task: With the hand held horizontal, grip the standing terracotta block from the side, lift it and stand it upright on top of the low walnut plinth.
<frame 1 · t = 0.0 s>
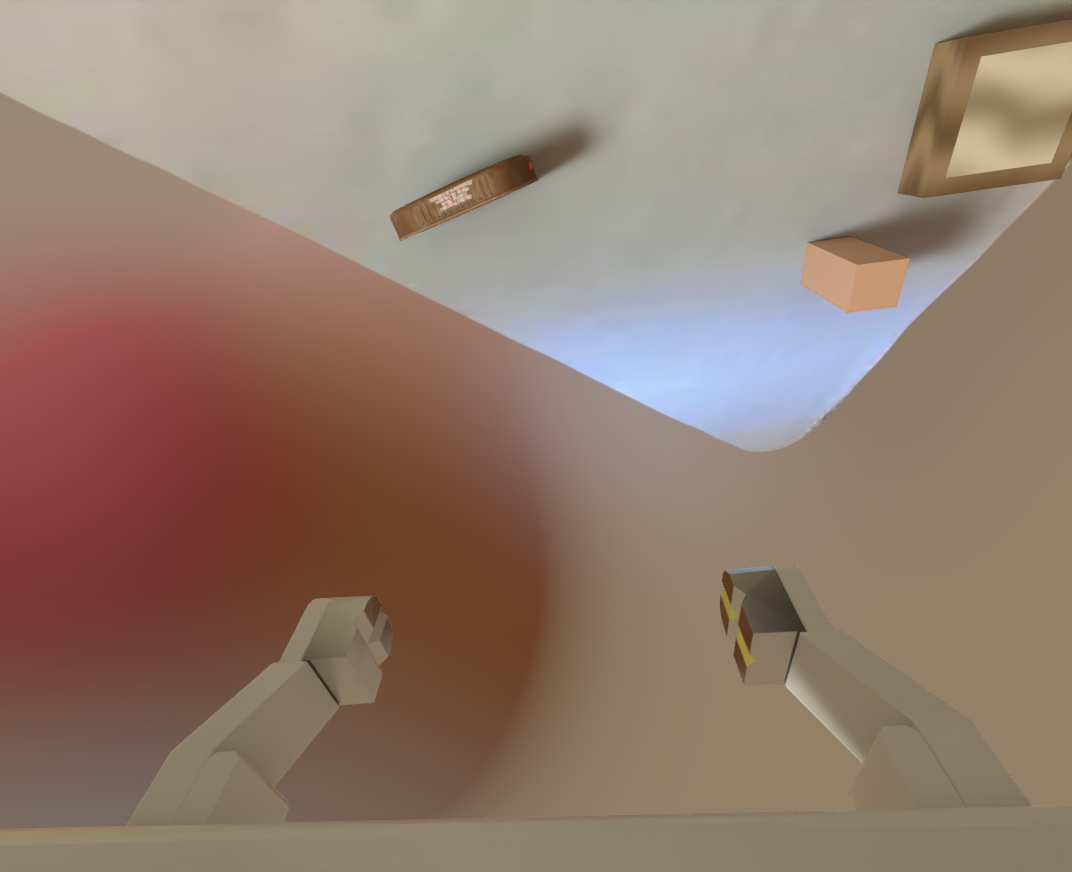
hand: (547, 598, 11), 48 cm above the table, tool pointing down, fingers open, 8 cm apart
terracotta block: (825, 260, 52), on the table
plinth: (982, 113, 45), on the table
tin: (468, 192, 50), on the table
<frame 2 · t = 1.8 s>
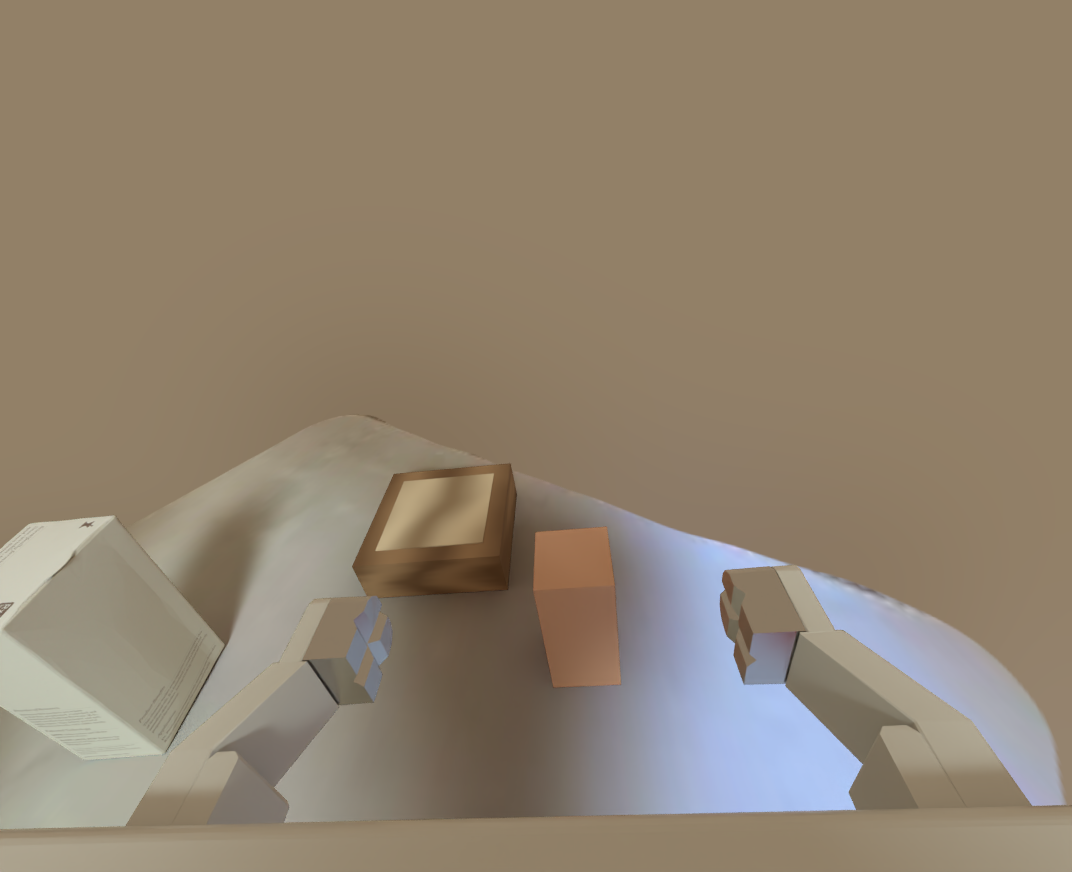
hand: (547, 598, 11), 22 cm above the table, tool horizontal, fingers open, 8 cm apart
terracotta block: (584, 654, 33), on the table
skincare box: (164, 703, 35), on the table
plinth: (449, 541, 44), on the table
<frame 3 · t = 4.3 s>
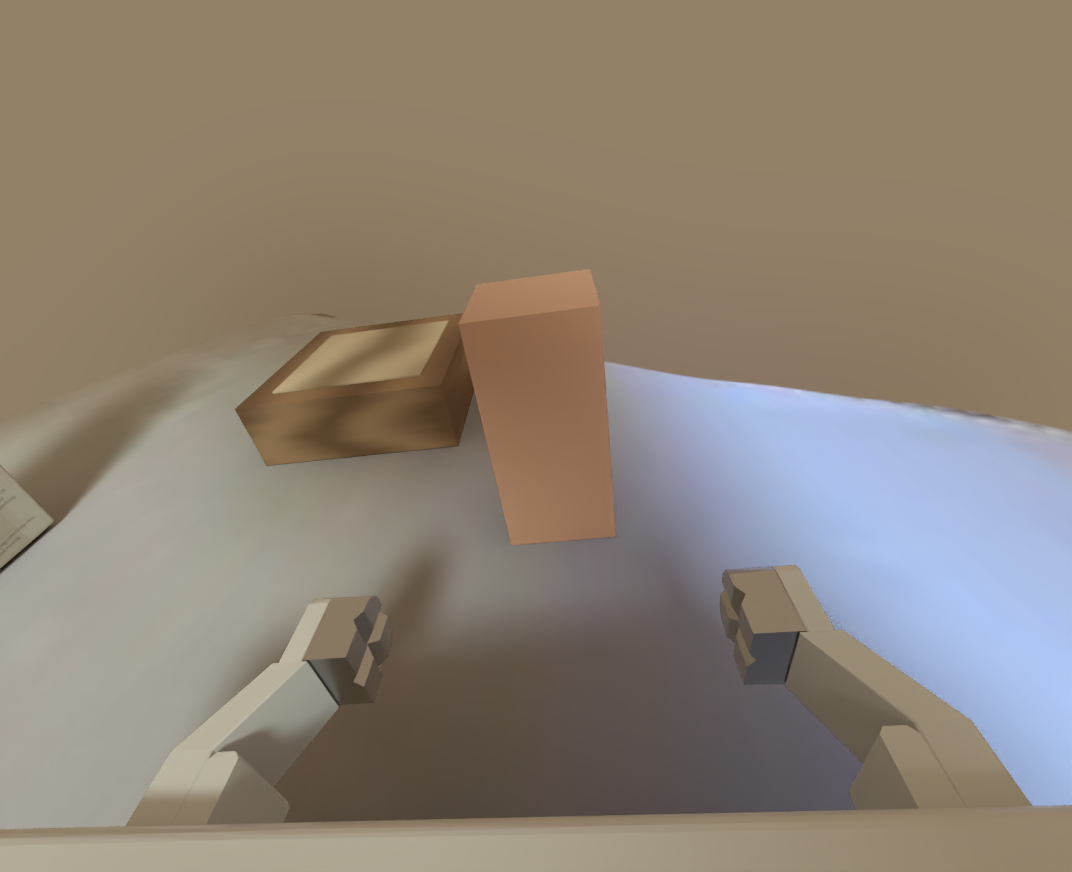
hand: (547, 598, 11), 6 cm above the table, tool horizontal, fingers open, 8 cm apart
terracotta block: (561, 505, 22), on the table
plinth: (388, 406, 33), on the table
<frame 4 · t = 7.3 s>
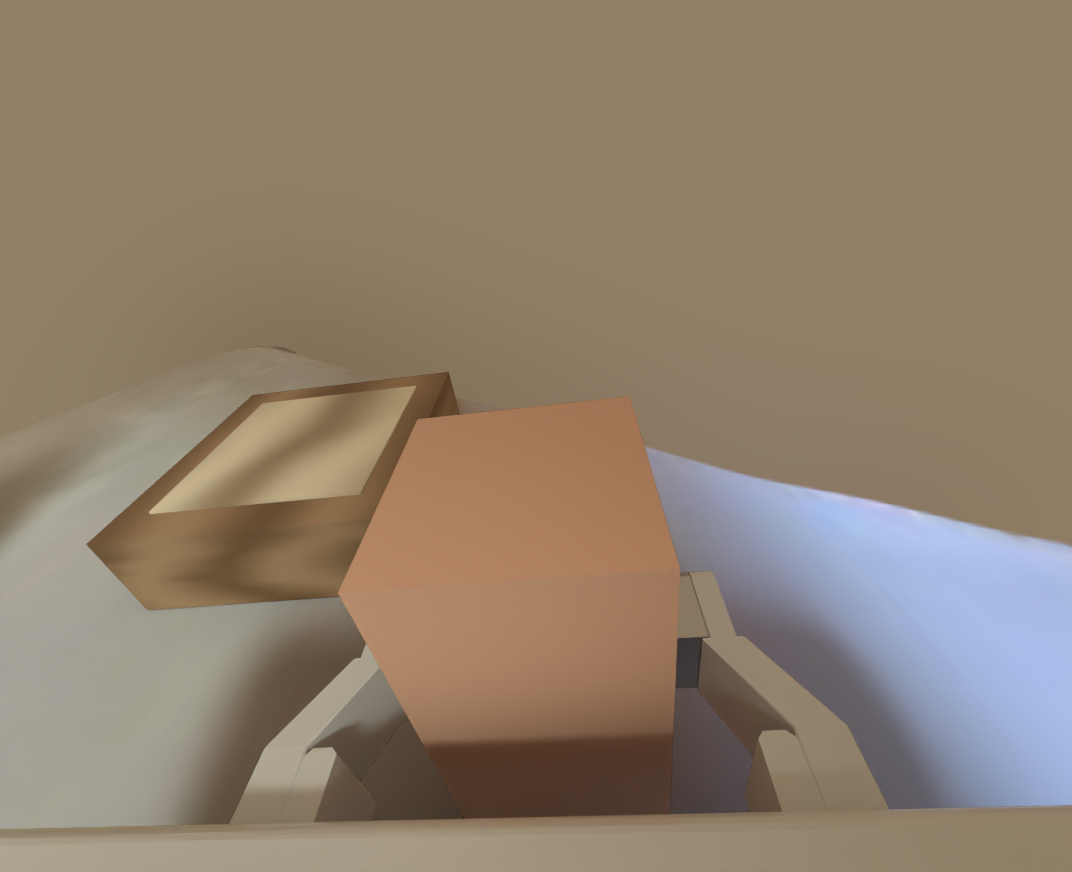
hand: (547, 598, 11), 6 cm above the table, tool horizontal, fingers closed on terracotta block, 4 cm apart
terracotta block: (571, 750, 13), on the table, touching gripper
plinth: (334, 504, 25), on the table
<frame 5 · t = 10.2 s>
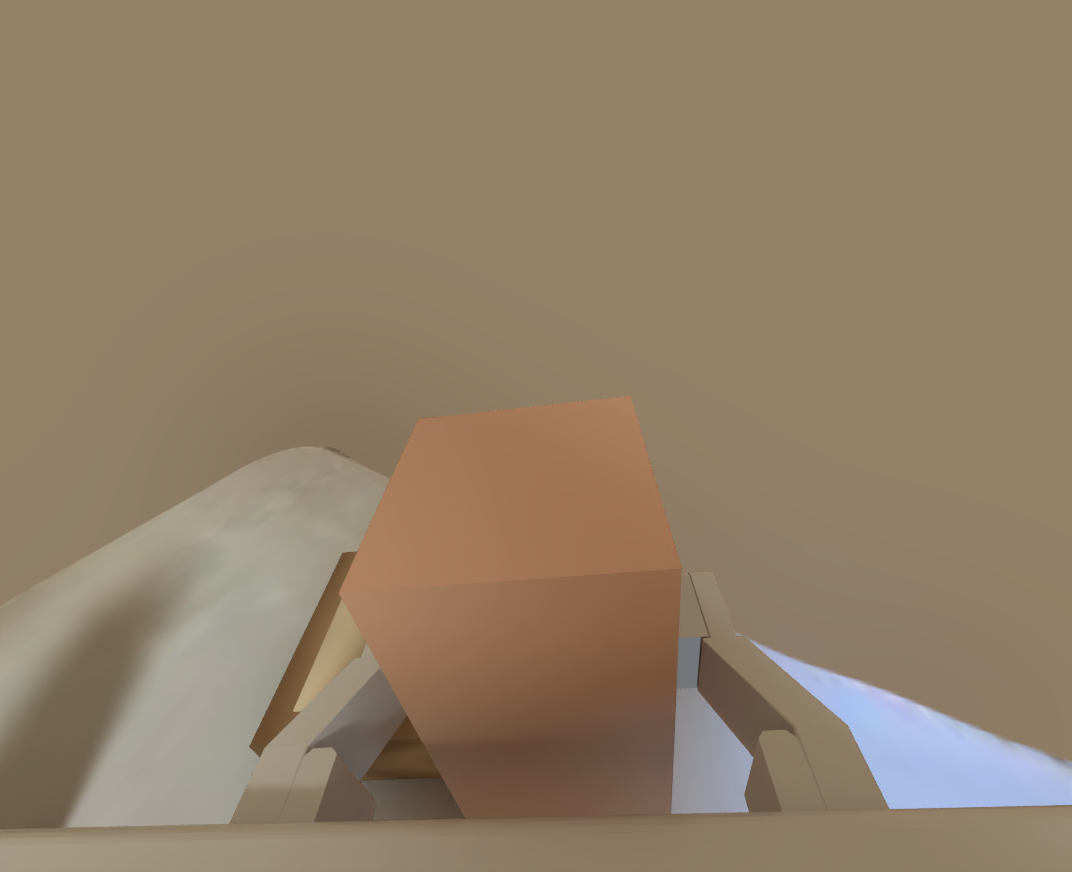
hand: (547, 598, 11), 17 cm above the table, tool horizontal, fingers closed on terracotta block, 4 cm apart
terracotta block: (572, 750, 13), point 11 cm above the table, touching gripper
plinth: (424, 664, 29), on the table
when the fingers open (10 cm above the table, at t = 13.6 s): terracotta block stays where it is, resting on plinth.
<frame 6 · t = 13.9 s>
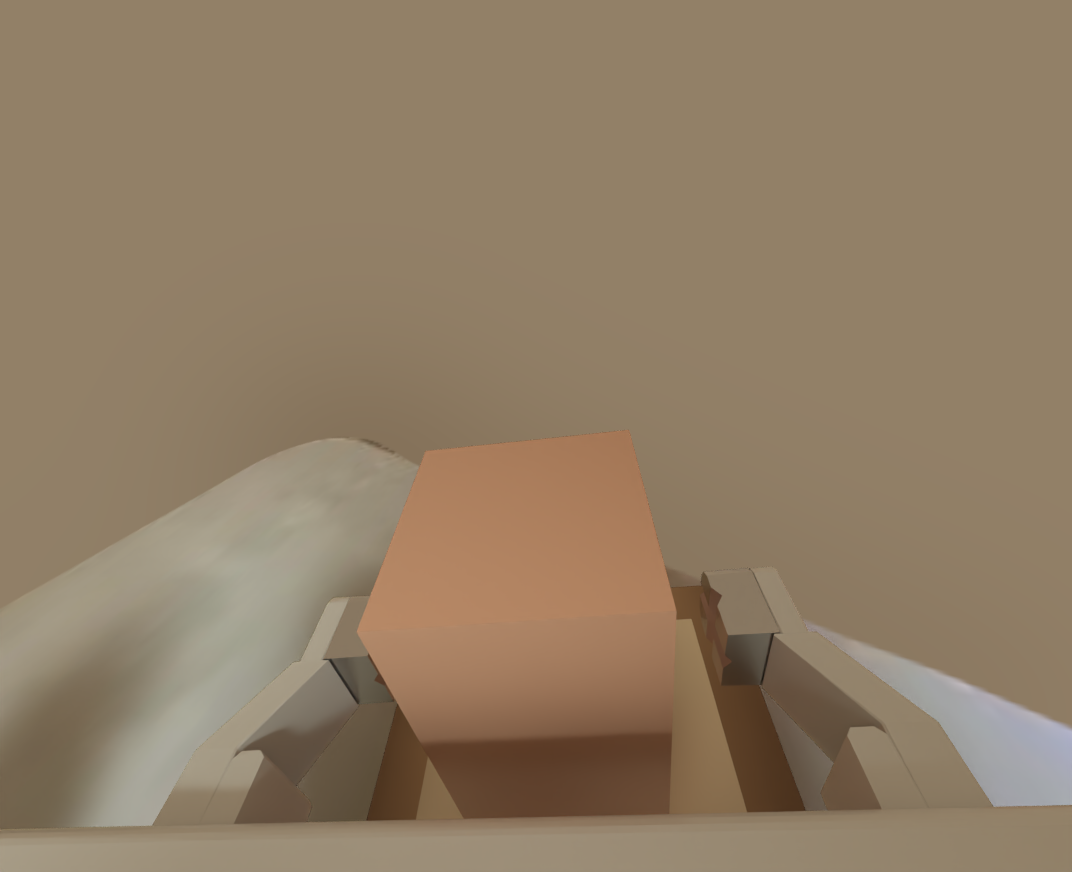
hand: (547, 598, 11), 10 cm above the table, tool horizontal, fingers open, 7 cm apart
terracotta block: (573, 763, 14), point 4 cm above the table, touching plinth
plinth: (585, 816, 16), on the table
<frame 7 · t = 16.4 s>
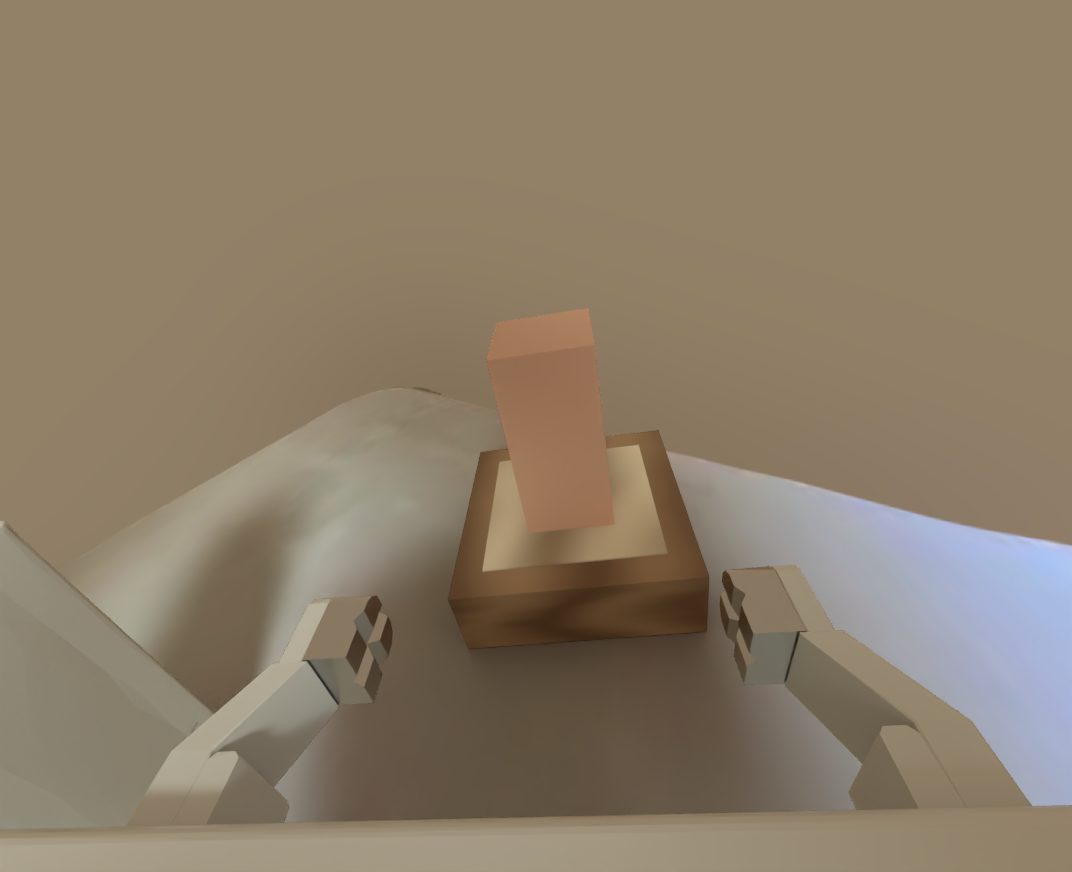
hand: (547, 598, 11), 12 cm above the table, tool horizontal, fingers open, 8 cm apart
terracotta block: (569, 500, 26), point 4 cm above the table, touching plinth
skincare box: (135, 855, 19), on the table
plinth: (578, 550, 29), on the table
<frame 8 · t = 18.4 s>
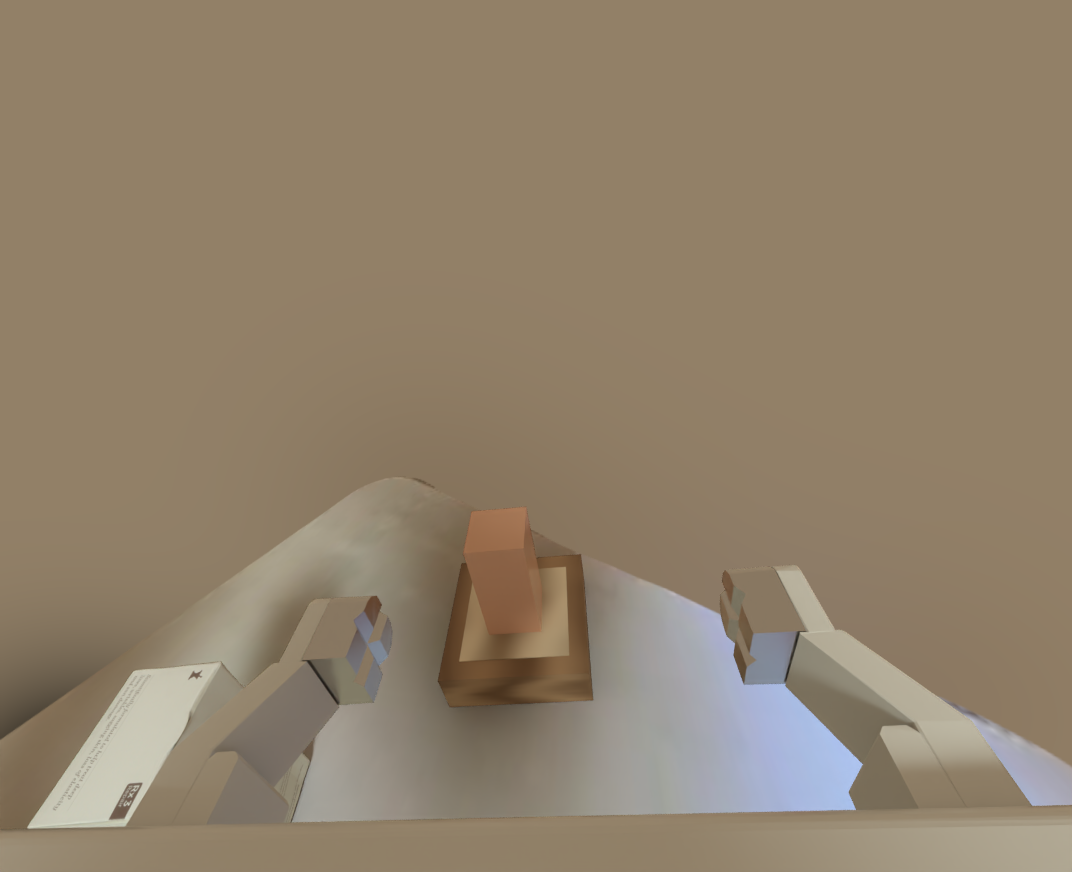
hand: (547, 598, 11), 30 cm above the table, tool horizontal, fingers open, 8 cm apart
terracotta block: (516, 610, 42), point 4 cm above the table, touching plinth
skincare box: (256, 830, 34), on the table
plinth: (523, 637, 44), on the table
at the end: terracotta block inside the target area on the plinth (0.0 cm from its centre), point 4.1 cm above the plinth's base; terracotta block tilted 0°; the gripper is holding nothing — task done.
